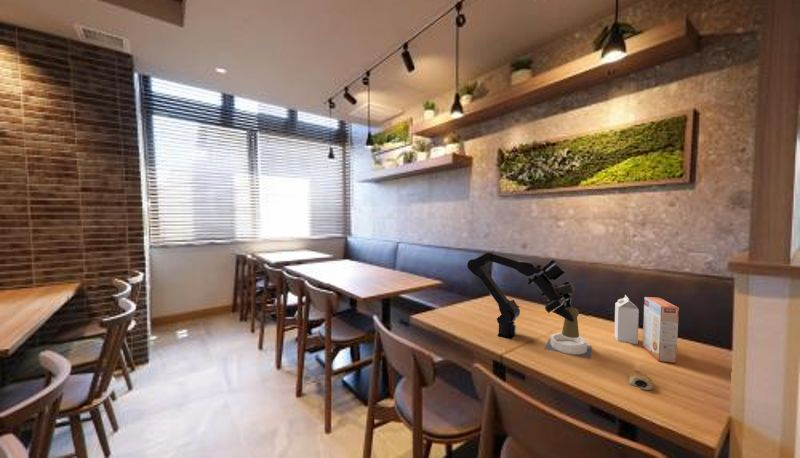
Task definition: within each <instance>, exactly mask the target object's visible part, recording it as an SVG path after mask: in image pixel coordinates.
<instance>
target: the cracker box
mask: <svg viewBox="0 0 800 458" xmlns="http://www.w3.org/2000/svg"><path fill="white" fill-rule="evenodd" d="M643 301H644V302H643V325H642V326H643V327H642V347H643V349H644V350H645V351H647V352H648V353H649V354H650V355H651V356H652V357H654V358H655V360H657V362H664V363H669V364H670V363H671V364H673V363H674V364H677V356H678V355H677V354H678V353H677V352H678V334H679V313H680V307H678V306H677V305H674V304H672V303H671V302H668V301H666V300H665V299H663V298H661V297H651V296H644V299H643Z"/></svg>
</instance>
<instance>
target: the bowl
mask: <svg viewBox="0 0 800 458" xmlns="http://www.w3.org/2000/svg"><path fill="white" fill-rule="evenodd" d="M588 342H589V341H588V340H587V339H586V338H584V337H582V336H579V337H578V338H570V337H566V336H564V335H563V334H562V332H561V333H560V332H557V333H553V334H551V335H550V343H551V347H552V348H553V349H555V350H557V351H559V352H558V353H560V352H562V354H565V353H566V355H570V354H572V355H571V356H575V355H581V354H585V353H586V352H587V345H588Z"/></svg>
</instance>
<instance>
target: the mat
mask: <svg viewBox="0 0 800 458" xmlns="http://www.w3.org/2000/svg"><path fill="white" fill-rule="evenodd" d="M550 338H551V337H550ZM550 338H548V340H547V341H546V342H547V343H546V344H545V347H544V350H546V351H551V352H556V353H560V354H561V353H562V352H559V351H557V350H555V349H553V348H552V347H551V343H550ZM592 348H593V346H592V345H588V344H587V352H586V353H585V354H581V355H574V356H575V357H582V358H586V359H592V351H593V349H592ZM562 354H563V353H562ZM564 354H566V353H564ZM566 355H567V354H566ZM569 355H570V356H573V355H572V354H569Z"/></svg>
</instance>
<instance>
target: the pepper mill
mask: <svg viewBox="0 0 800 458" xmlns="http://www.w3.org/2000/svg"><path fill="white" fill-rule="evenodd" d="M566 308H567V310H568V311H569V313H570V314H571V316H572V317H573V319H574V321H573V322H571V321H569V320H567V319H566V318H564V321H563V327H562V331H561V333H562V334H563V335H564V336H566V337H570V338H578V337H580V333H579V332H580V331H579V323H578V316H579V314H580V312H579V309H578V308H576V307H573V306H572V307H566Z"/></svg>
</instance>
